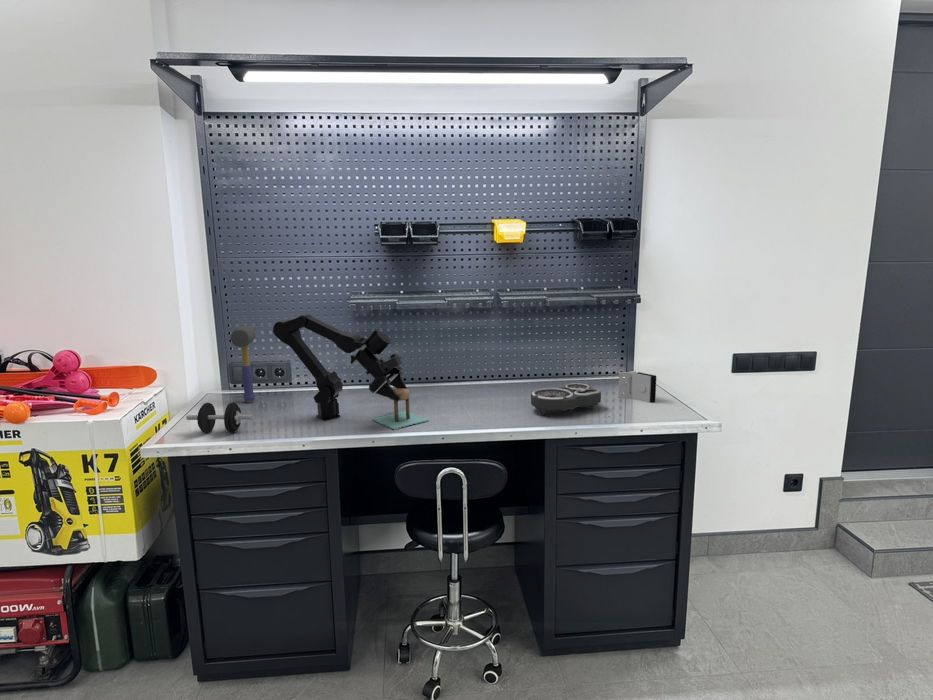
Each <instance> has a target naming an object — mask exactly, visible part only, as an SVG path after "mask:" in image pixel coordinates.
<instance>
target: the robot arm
mask: <svg viewBox="0 0 933 700" xmlns="http://www.w3.org/2000/svg"><path fill="white" fill-rule="evenodd" d="M303 328H305V329H306V330H309V331H311V332H313V333H314V334H317V335H318V336H321V337H323V338H325V339H327V340H328V341H331V342H332V343H334V345H335V346H336V347H337V348H338V349H340V350H341V351H343V352H344V353H346V354H352V353H354V352H356V351H357V352H356V353H355V354H352V355H350V364H352V365H353V364H354V363H356V362H357V363H358V364H360V366H361V367H362V368H363V369H364V370H365V371H366V372H365V374H366V375H367V376H368V375H370V376H371V377H372V378H373V381H372V382H371V383H370V384H369V385H368V390H369V391H370V392H371V393H372V394H376V395H380V396H382V395H383V397H385V398H388V399H390V398H391V399H394V400H396V401H398V402H399V401H401V400H400V398H399V396H398V395H397V394H396V392H395V391H394V390H393V389H399V388H403V389H408V388H407V385H406V383H405V381H404V379H403V368H402V367H401V366H400V365H402V364H403V362H402V356H400V355H399V354H398V353H393V354H390V357H389V358H388V359H387V360H385V359H383V358H380V359H379V357H377V356H376V355H381V354H382V353H384V352H385V350H386V349H387V348H388V347H389V346H390V344H391V343H392V340H391V338H390V337H389V335H387V334H386V333H384V332H382V331H380V330H379V329H374V331H373V332H372V333H371V335H370V336H369V337H368V338H367V337H362V336H361V335H359V334H357V333H354V332H350V331H344V330H341V329H338V328H336V327H335V326H333V325H330V324H328V323H325V322H323V321H322V320H320V319H317V318H316V317H313V316H312V315H311V314H308V313H305V314H302V315H301V314H300V316H298V317H295V318H292V319H289V318H288V319H284V320H281V321H277V322H275V323H274V324H273V329H272V333H273V335H274V336H275V337H276V338H277V339H278V340H279V341H280V342H282V343H284V344H285V345H286V346H289V347H290V348H291V350H292V351H293V352H294V354H295V355H296V356H297V357H298V359H299V360H300V361H301V362H302V364H303V365H304V366H305V368H306V369H307V370H308V371H309V373H310V374H311V375H312V376H313V378H314V380H315V384H316V388H317V389H318V391H317V393H316V394H315V395H314V396H313V399H314V402H315V403H316V405H317V414H316V416H315V417H317V418H318V419H320V420H322V421H326V420H327V421H328V420H331V419H335V418H336V419H337V418H341V415H340V404H339V402H338V399H337V398H339V395H340V393H341V392H342V391H343V387H344V385H343V382H342V378H340V377H339V375H338V373H337V372H336V371H331V372H330V371H329V370H327V369H326V368H325V367H324V365H323V364H322V363H321V361H319V359H318V358H317V357H316V355H315V354H314V353H313V351H312V350H311V349H310V347H309V346H308V345H307V344H306V342H305V341H304V340H303V338H302V335H301V330H300V329H303ZM362 348H363V349H362ZM393 387H394V388H393ZM391 399H390V400H391ZM394 400H393V401H394Z"/></svg>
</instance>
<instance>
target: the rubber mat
mask: <svg viewBox="0 0 933 700" xmlns="http://www.w3.org/2000/svg"><path fill="white" fill-rule="evenodd" d="M409 412H410V419H406V410H404V411H398V417H399V422H395V415H394V413H392V414H391V413H390V414H387V415H383V416H378V417H374V418H372V421H373V420H374V421H373V422H375V421H376V422H375V423H377V422H378V424H379V425H382V424H383V425H382V426H384V425H385V426H384V427H386V426H387V428H388V427H390V428H392V429H396V430H398V429H397V428H400V427H404V428H406V427H405V426H408V427H410V426H409V425H412V426H414V425H413V424H416V425H418V424H417V423H420V424H423V423H422V422H425V423H427V422H426V421H429V422H430V419H428V418H426V417H424V416H421V415H419V414H416V413H414V412H411V411H409ZM390 428H389V429H390ZM392 429H391V430H392ZM400 429H401V428H400Z"/></svg>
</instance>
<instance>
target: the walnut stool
mask: <svg viewBox="0 0 933 700" xmlns="http://www.w3.org/2000/svg"><path fill="white" fill-rule="evenodd" d="M392 389H393V390H394V391H395V392H396V394H397V395H398V396H399V398H400V400H399V401H405V411H406V419H410V412H411V411H410V389H408V388H407V389H403V388H399V389H397V388H392ZM389 400H391V401H393V411H394V413H393V414H394V415H395V422H399V417H398V413H399V401H396V400H394V399H391V398H389Z"/></svg>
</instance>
